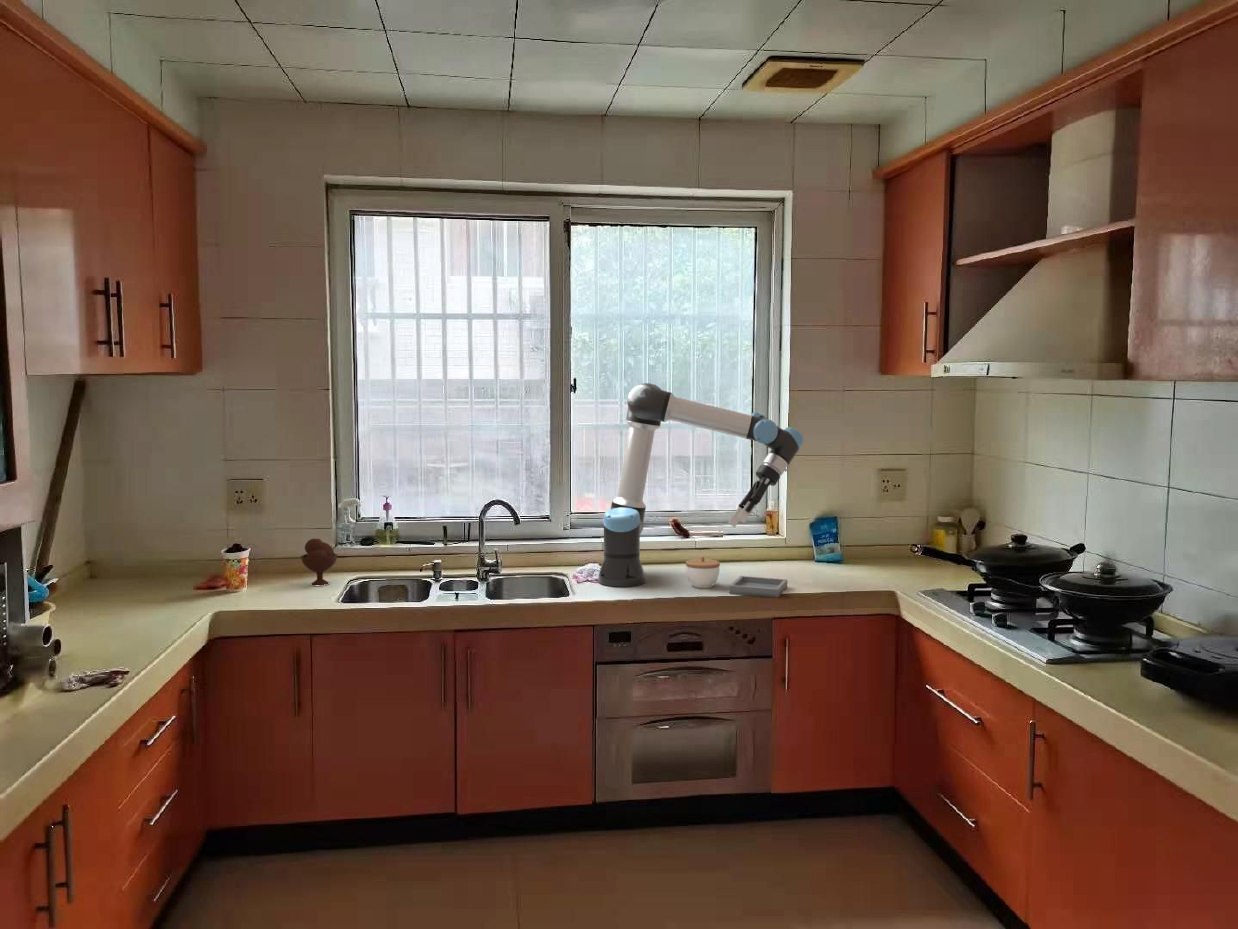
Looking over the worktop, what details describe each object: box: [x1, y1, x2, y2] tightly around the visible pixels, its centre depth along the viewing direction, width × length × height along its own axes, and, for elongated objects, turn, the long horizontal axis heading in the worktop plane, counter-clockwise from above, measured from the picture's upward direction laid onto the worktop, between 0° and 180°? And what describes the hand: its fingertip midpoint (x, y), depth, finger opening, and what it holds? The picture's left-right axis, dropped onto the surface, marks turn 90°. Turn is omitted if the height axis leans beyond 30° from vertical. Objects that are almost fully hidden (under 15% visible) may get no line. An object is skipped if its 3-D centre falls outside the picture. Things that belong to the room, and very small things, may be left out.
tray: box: [728, 575, 788, 599], centre depth 277 cm, size 15×15×2 cm
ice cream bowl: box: [300, 538, 338, 586], centre depth 285 cm, size 11×11×15 cm
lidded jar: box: [685, 556, 721, 589], centre depth 283 cm, size 11×11×9 cm
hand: (735, 522), depth 287 cm, fingers open, 13 cm apart
